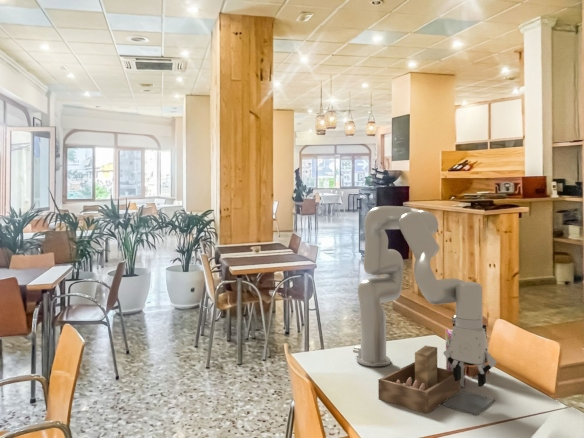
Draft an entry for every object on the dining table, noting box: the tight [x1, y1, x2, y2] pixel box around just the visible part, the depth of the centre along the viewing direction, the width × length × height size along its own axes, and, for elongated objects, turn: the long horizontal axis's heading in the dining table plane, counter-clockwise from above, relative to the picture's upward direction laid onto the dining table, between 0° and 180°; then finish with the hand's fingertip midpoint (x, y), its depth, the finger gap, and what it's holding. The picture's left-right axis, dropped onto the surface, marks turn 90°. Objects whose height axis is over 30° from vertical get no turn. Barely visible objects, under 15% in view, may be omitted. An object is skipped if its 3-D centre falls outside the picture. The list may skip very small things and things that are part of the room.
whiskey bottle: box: [451, 314, 490, 378], centre depth 166 cm, size 10×10×32 cm
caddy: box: [377, 361, 461, 415], centre depth 144 cm, size 16×23×6 cm
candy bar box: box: [444, 329, 466, 388], centre depth 156 cm, size 11×5×16 cm, turn 168°
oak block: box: [414, 345, 438, 391], centre depth 149 cm, size 4×10×13 cm, turn 145°
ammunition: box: [396, 377, 425, 390], centre depth 143 cm, size 5×7×8 cm
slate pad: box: [442, 390, 496, 416], centre depth 138 cm, size 10×14×1 cm
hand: (469, 382), depth 138 cm, fingers open, 6 cm apart
